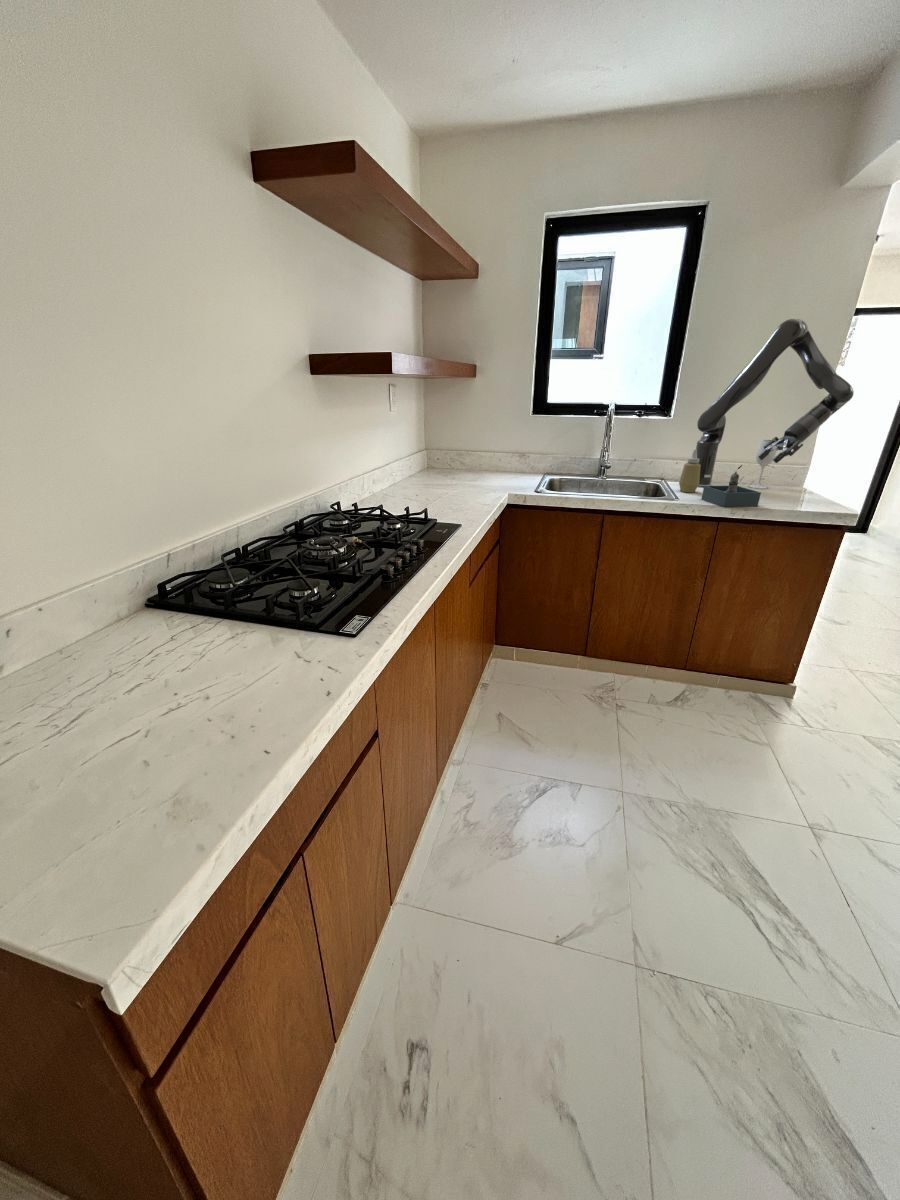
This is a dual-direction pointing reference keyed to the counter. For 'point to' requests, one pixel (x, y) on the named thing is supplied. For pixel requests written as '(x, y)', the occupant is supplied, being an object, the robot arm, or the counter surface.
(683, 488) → the squeeze bottle
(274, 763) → the counter surface
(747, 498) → the bin
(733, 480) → the salt shaker
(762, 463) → the wineglass
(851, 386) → the robot arm
